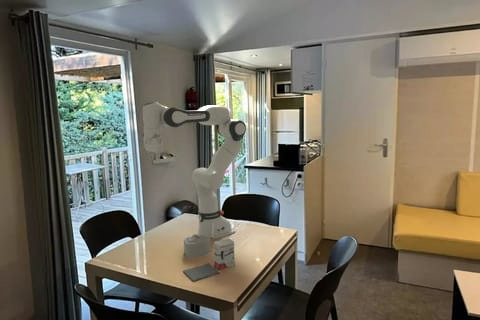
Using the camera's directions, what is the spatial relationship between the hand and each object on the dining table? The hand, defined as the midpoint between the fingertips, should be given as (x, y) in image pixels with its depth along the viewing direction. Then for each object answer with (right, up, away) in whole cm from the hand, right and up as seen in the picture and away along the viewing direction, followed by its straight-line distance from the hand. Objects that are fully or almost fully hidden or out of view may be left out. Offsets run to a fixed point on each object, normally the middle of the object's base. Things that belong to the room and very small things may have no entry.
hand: (154, 160), depth 179 cm
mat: (+27, -51, -26) cm, 63 cm away
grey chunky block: (+23, -48, -4) cm, 53 cm away
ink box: (+38, -50, -19) cm, 65 cm away
